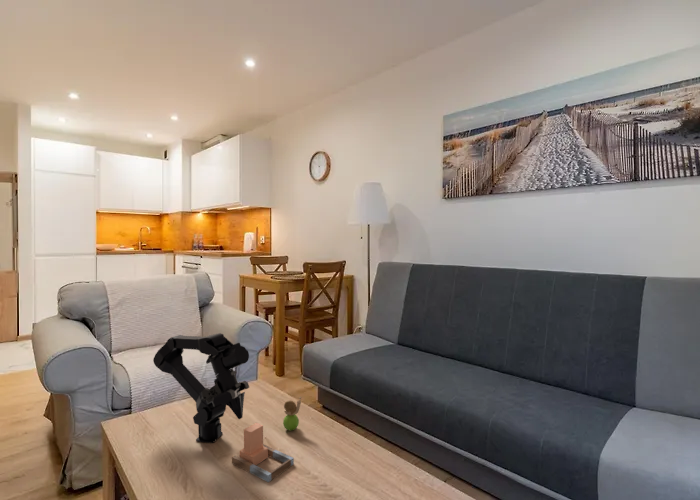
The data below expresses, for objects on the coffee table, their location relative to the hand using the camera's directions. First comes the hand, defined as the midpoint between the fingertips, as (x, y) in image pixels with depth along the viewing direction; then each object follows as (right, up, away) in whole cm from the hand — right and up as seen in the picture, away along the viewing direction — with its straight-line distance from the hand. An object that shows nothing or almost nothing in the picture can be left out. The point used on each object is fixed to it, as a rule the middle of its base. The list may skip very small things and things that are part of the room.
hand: (240, 418), depth 129 cm
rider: (+6, -10, -5) cm, 13 cm away
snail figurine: (+15, -9, +13) cm, 22 cm away
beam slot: (+9, -11, -7) cm, 16 cm away
